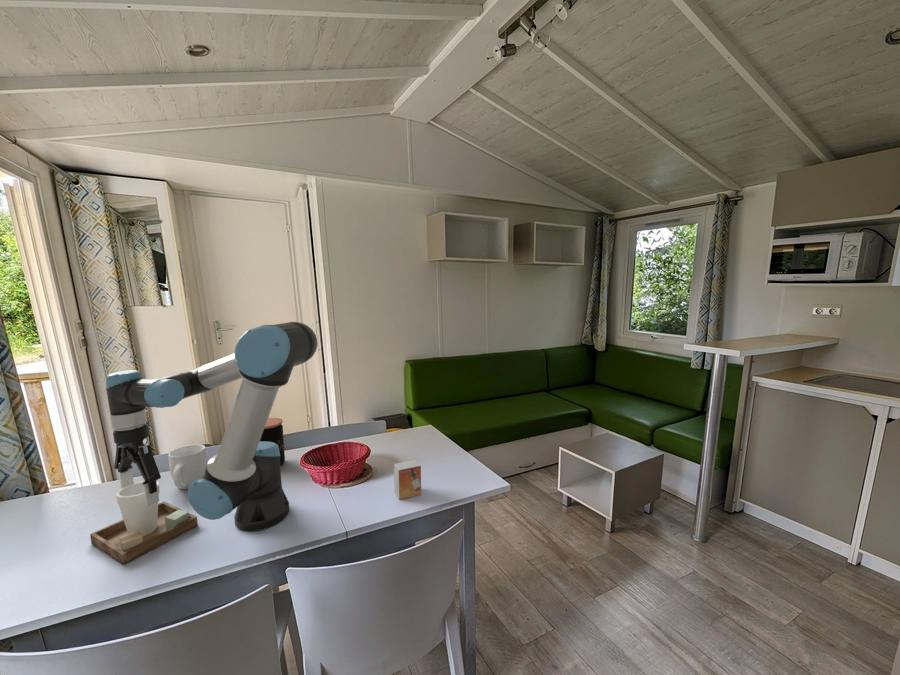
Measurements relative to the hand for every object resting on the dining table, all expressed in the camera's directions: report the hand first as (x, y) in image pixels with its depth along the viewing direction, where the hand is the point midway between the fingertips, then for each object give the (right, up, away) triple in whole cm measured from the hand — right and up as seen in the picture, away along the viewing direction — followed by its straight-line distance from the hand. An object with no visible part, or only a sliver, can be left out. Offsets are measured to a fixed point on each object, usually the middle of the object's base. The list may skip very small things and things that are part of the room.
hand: (140, 498), depth 107 cm
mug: (-5, -8, +27) cm, 29 cm away
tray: (+1, -11, +1) cm, 11 cm away
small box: (+74, -8, +21) cm, 77 cm away
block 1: (+4, -11, -7) cm, 14 cm away
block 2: (+9, -10, +3) cm, 13 cm away
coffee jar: (+17, -6, +43) cm, 46 cm away
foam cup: (0, -10, +1) cm, 10 cm away
